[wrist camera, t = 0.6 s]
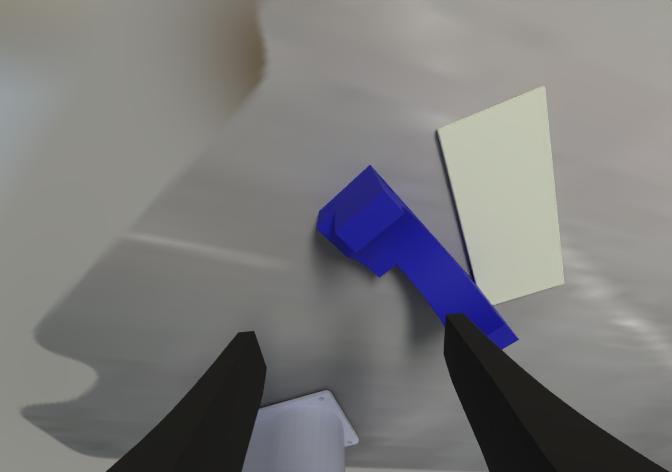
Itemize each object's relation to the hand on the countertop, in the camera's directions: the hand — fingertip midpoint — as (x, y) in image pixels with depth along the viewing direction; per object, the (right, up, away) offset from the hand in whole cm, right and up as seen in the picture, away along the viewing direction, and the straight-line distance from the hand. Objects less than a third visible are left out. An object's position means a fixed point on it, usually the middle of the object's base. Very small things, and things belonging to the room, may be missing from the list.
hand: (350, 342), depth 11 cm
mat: (+11, +5, +8) cm, 15 cm away
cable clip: (+4, +3, +10) cm, 11 cm away
